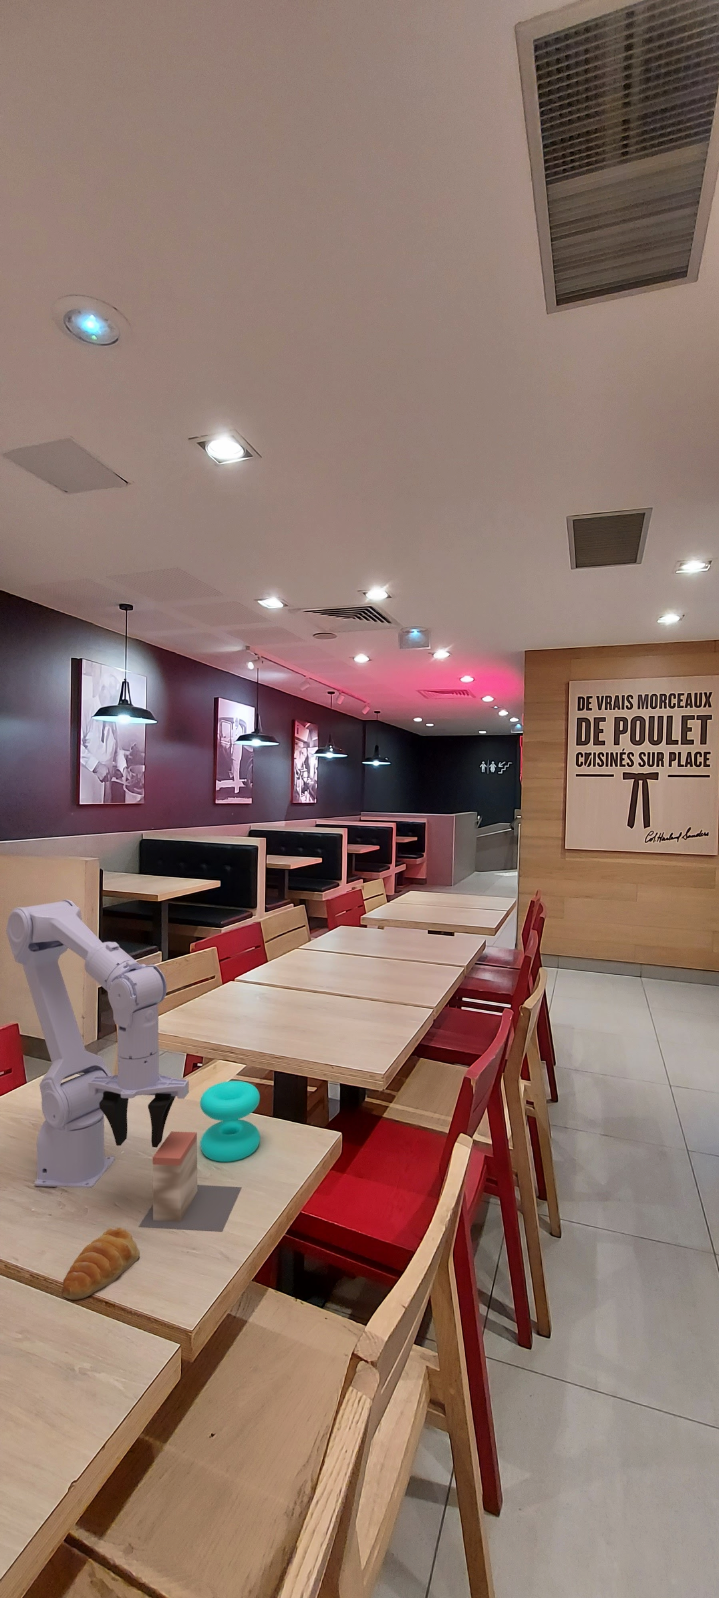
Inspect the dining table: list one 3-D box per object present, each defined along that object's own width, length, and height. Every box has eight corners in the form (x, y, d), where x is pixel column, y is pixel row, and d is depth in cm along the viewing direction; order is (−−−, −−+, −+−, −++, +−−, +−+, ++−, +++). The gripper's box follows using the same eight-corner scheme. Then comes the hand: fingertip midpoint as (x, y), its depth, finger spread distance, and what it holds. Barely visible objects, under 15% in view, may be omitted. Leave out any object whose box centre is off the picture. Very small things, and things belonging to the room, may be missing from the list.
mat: (138, 1229, 91) (138, 1226, 91) (166, 1186, 101) (166, 1183, 101) (222, 1234, 89) (222, 1231, 89) (241, 1190, 99) (241, 1187, 99)
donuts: (264, 1078, 116) (253, 1105, 106) (264, 1134, 116) (253, 1166, 106) (208, 1077, 116) (192, 1105, 106) (209, 1133, 116) (193, 1165, 106)
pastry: (90, 1313, 76) (89, 1281, 76) (47, 1297, 79) (46, 1266, 79) (144, 1259, 85) (143, 1230, 85) (103, 1246, 88) (103, 1218, 88)
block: (153, 1220, 92) (152, 1157, 92) (171, 1189, 99) (171, 1131, 99) (180, 1221, 92) (179, 1158, 91) (197, 1191, 99) (196, 1132, 98)
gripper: (77, 1061, 92) (78, 1156, 92) (176, 1064, 91) (176, 1160, 91) (101, 1041, 99) (102, 1129, 99) (193, 1044, 98) (194, 1134, 98)
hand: (139, 1143), depth 96 cm, fingers open, 5 cm apart
